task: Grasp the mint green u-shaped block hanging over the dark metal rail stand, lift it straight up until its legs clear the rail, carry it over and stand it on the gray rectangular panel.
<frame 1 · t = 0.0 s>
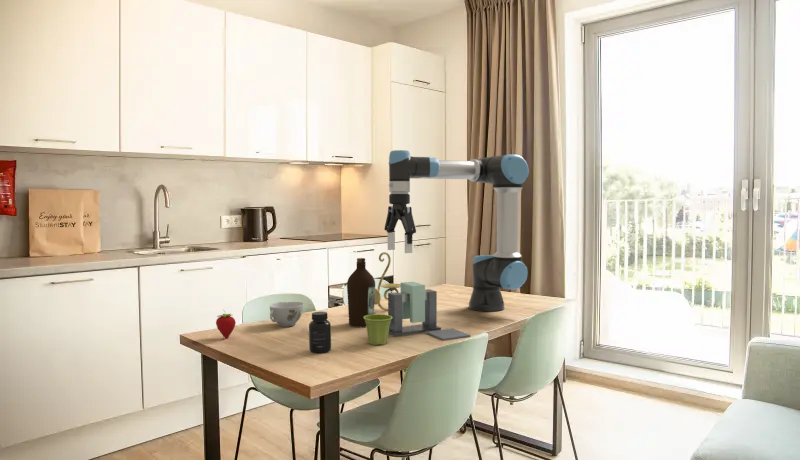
hand: (399, 251, 205), 28 cm above the table, tool pointing down, fingers open, 13 cm apart
rail stand: (412, 330, 201), on the table
mint green u-shaped block: (412, 292, 200), point 14 cm above the table, touching rail stand
plant pot: (378, 343, 184), on the table
olive oil: (361, 325, 211), on the table
wall sconce: (387, 311, 236), on the table
strawberry: (226, 338, 191), on the table
supplement bottle: (320, 351, 175), on the table
teacup: (284, 326, 210), on the table
gray rectangular panel: (448, 335, 195), on the table
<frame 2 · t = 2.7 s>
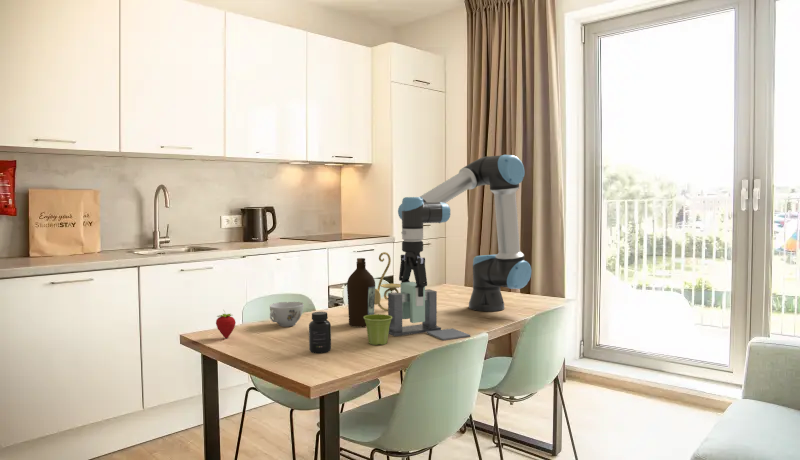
hand: (412, 303, 200), 10 cm above the table, tool pointing down, fingers closed on mint green u-shaped block, 9 cm apart
mint green u-shaped block: (412, 292, 200), point 14 cm above the table, touching gripper, rail stand
everything else where it was.
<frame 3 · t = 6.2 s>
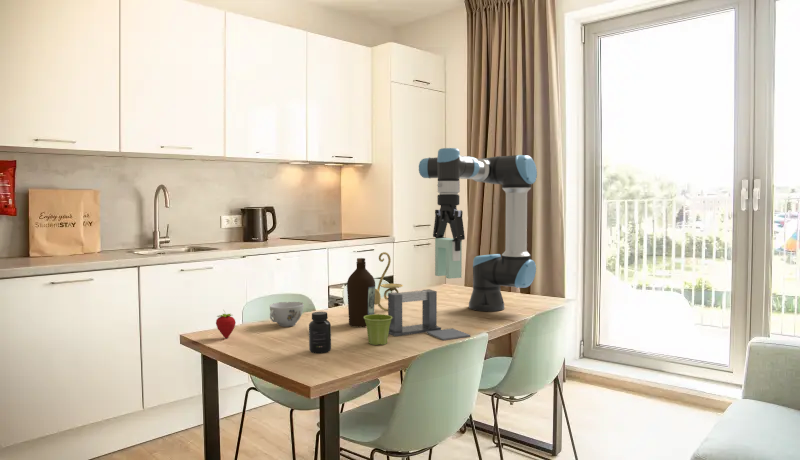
hand: (448, 259, 193), 26 cm above the table, tool pointing down, fingers closed on mint green u-shaped block, 9 cm apart
mint green u-shaped block: (448, 247, 193), point 30 cm above the table, touching gripper
everything else where it was.
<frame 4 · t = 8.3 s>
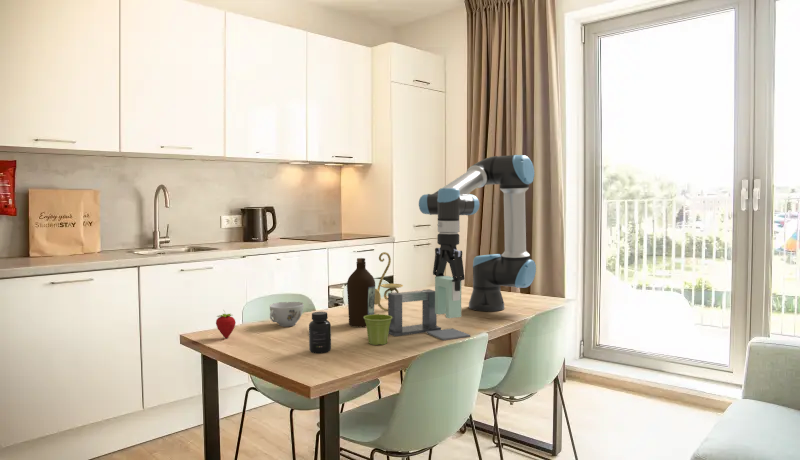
hand: (448, 298, 194), 13 cm above the table, tool pointing down, fingers closed on mint green u-shaped block, 9 cm apart
mint green u-shaped block: (448, 286, 194), point 17 cm above the table, touching gripper
everything else where it was.
when the fingers open (7 cm above the table, at t = 10.0 s): mint green u-shaped block stays where it is, resting on gray rectangular panel.
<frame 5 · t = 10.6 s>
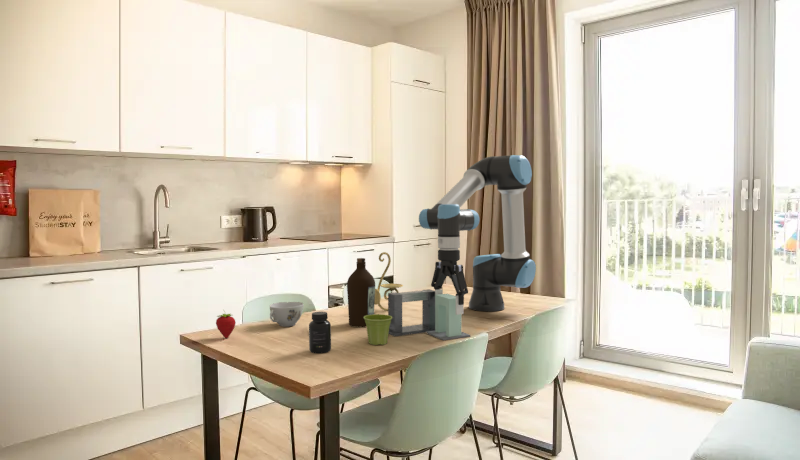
hand: (448, 310, 194), 9 cm above the table, tool pointing down, fingers open, 12 cm apart
mint green u-shaped block: (448, 304, 194), point 11 cm above the table, touching gray rectangular panel
everything else where it was.
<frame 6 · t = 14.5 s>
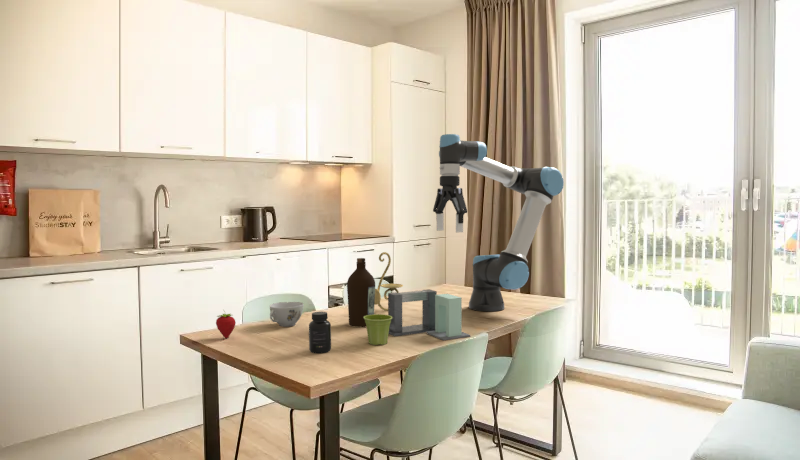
hand: (449, 231, 214), 35 cm above the table, tool pointing down, fingers open, 13 cm apart
nothing on the table moved.
at the end: mint green u-shaped block inside the target area on the gray rectangular panel (0.0 cm from its centre), point 10.6 cm above the gray rectangular panel's base; mint green u-shaped block tilted 0°; mint green u-shaped block touching gray rectangular panel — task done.
